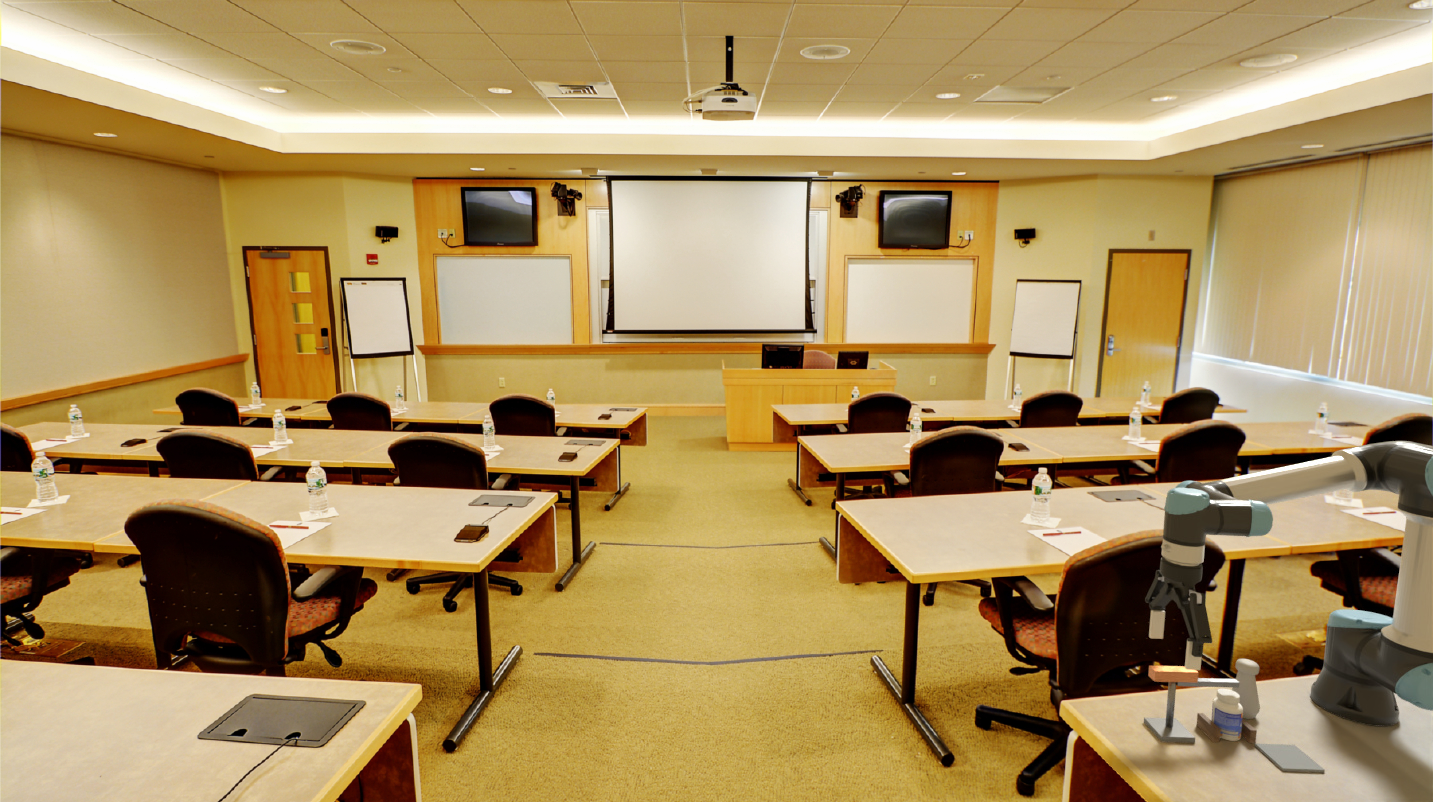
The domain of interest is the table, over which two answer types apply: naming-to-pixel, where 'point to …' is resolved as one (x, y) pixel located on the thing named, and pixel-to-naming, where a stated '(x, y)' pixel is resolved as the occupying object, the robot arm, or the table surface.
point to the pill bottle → (1228, 714)
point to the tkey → (1183, 683)
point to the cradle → (1214, 730)
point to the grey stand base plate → (1169, 730)
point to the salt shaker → (1247, 687)
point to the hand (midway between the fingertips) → (1173, 652)
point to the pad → (1289, 758)
